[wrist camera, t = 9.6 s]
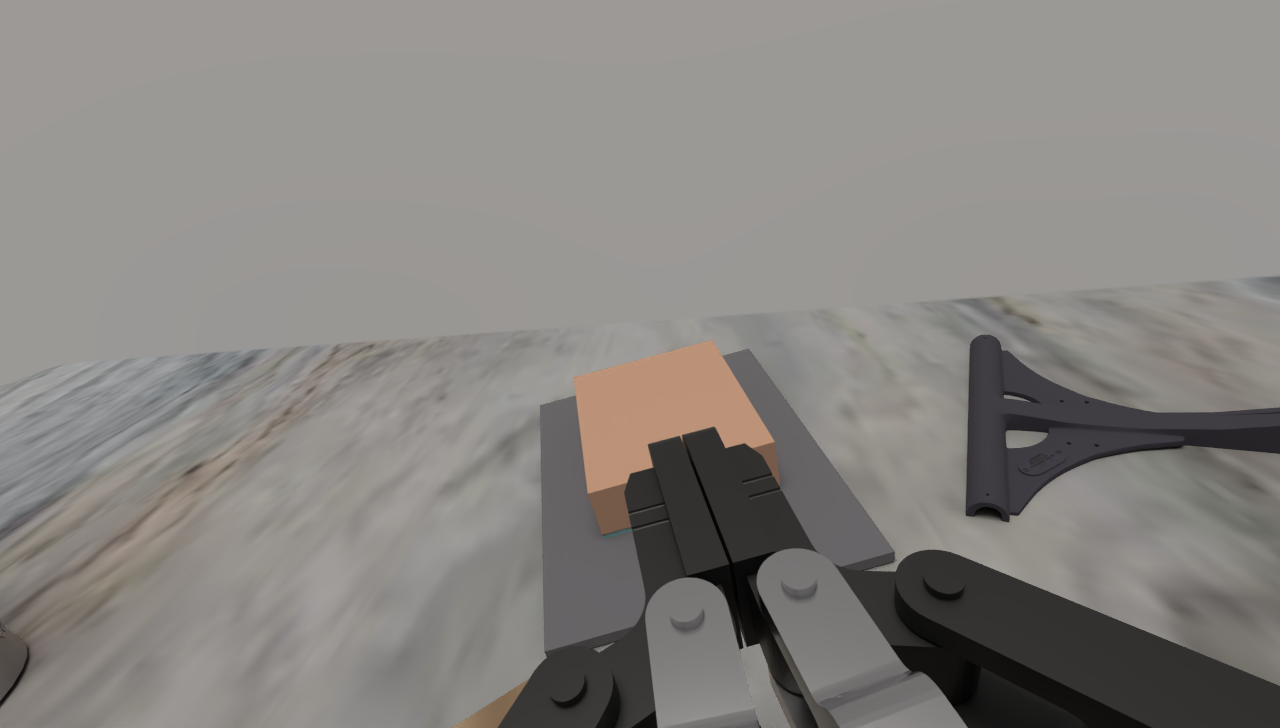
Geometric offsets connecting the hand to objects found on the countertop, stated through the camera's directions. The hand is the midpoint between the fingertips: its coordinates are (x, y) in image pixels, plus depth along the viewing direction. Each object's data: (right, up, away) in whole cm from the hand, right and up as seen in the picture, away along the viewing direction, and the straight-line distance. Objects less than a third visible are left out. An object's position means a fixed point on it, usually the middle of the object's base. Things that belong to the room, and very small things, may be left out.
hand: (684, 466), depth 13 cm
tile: (+1, -4, +15) cm, 16 cm away
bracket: (+23, -2, +15) cm, 28 cm away
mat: (+1, -4, +20) cm, 20 cm away
